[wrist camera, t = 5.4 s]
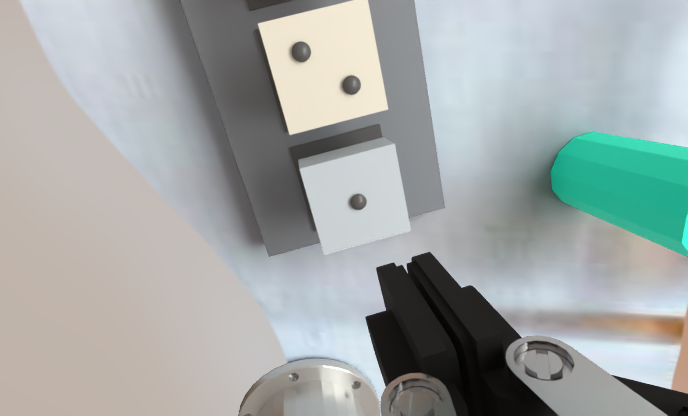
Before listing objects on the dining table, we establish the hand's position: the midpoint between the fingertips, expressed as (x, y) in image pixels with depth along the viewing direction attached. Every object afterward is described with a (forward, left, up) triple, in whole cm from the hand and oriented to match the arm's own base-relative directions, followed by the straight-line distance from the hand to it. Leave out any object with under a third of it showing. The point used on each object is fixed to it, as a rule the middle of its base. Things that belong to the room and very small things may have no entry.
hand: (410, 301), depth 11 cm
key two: (+7, 0, -12) cm, 14 cm away
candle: (-5, -19, -17) cm, 26 cm away
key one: (0, 0, -12) cm, 12 cm away
